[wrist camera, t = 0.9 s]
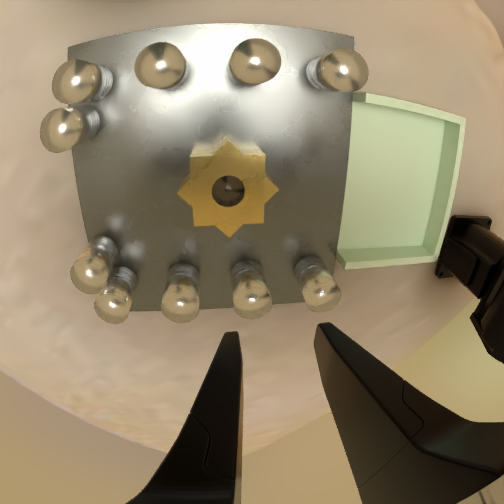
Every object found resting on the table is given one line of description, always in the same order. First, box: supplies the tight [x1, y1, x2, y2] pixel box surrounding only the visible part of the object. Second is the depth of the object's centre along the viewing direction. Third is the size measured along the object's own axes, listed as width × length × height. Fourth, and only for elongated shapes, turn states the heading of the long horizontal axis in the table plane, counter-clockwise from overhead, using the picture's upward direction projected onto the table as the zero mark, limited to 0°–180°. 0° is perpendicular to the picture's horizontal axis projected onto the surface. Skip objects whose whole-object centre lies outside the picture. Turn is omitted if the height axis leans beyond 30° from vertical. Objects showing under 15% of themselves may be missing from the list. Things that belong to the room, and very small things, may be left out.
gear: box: [177, 135, 279, 238], centre depth 17 cm, size 6×6×2 cm
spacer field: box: [40, 23, 369, 324], centre depth 17 cm, size 18×20×4 cm
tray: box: [336, 93, 466, 270], centre depth 19 cm, size 9×12×2 cm
